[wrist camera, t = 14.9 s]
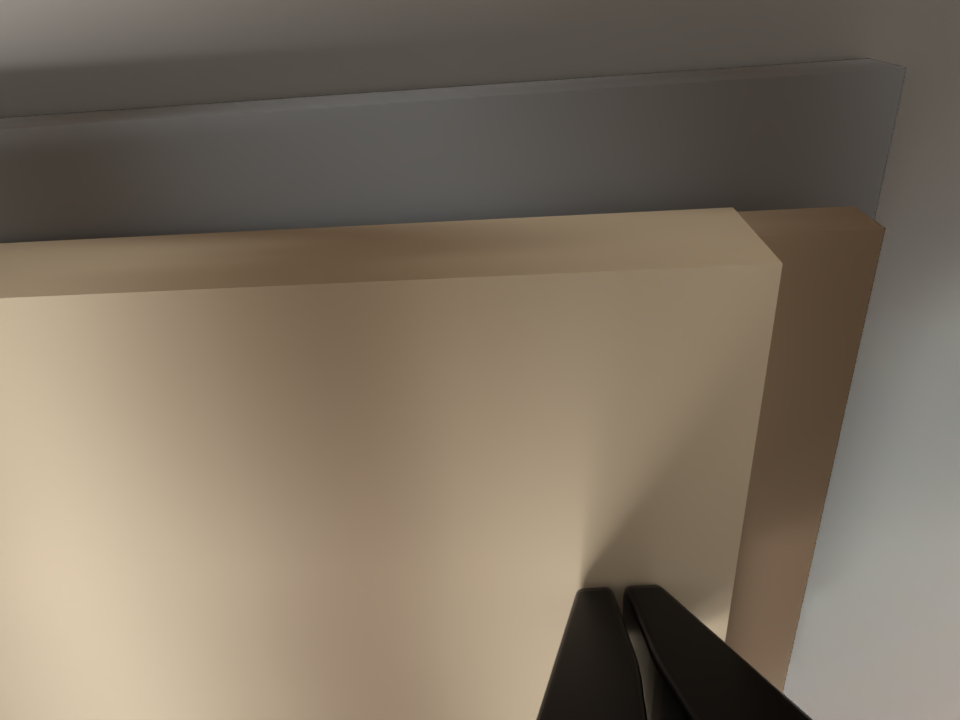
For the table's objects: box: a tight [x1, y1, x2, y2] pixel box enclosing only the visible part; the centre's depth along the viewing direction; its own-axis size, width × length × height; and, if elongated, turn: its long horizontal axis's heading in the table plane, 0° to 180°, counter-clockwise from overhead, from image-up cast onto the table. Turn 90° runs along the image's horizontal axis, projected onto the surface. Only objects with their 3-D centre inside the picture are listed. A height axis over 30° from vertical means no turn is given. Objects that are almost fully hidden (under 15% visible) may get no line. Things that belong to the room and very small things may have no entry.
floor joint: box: [0, 58, 906, 243], centre depth 10 cm, size 20×12×2 cm, turn 94°
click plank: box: [0, 206, 885, 720], centre depth 9 cm, size 11×9×2 cm
